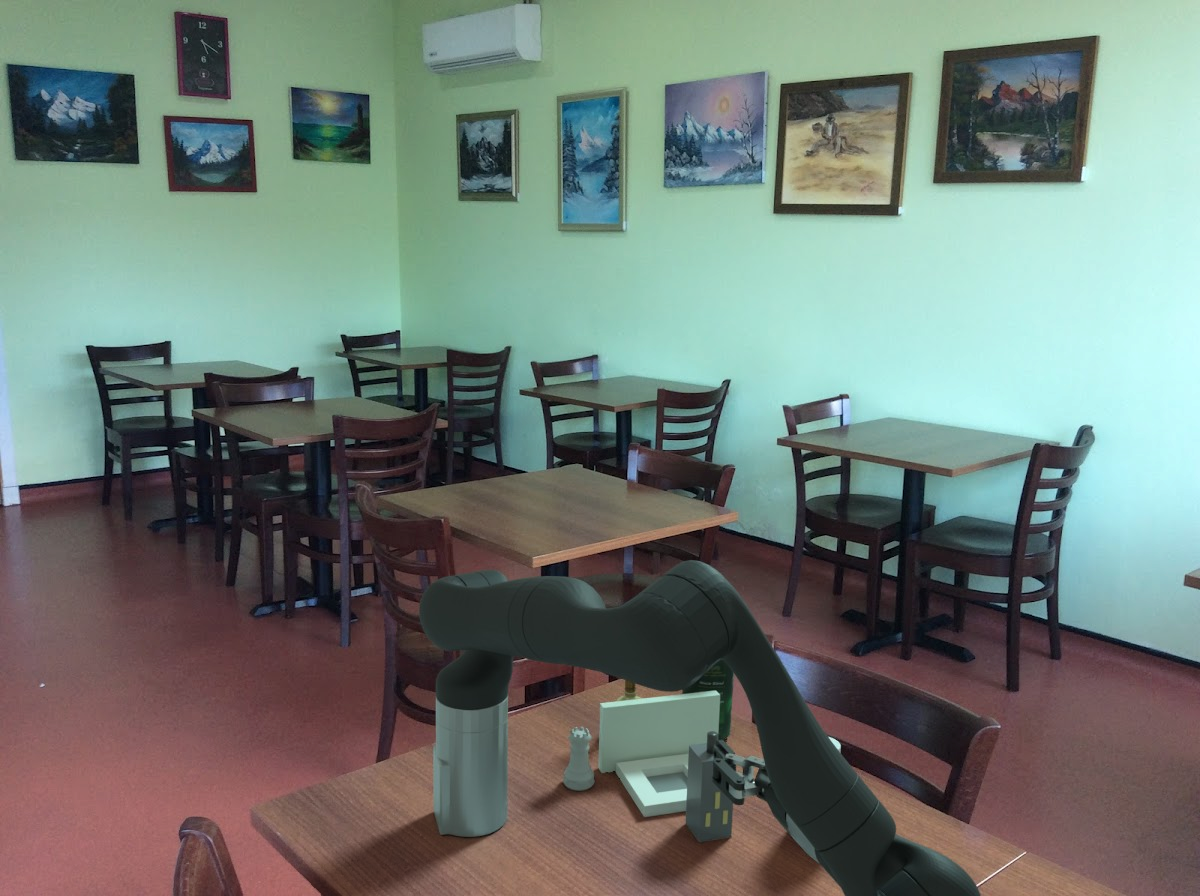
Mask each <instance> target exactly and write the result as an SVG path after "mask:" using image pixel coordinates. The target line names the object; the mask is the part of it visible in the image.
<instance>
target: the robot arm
mask: <svg viewBox="0 0 1200 896" xmlns="http://www.w3.org/2000/svg"><path fill="white" fill-rule="evenodd" d="M418 615H419V616H418V617H419V621H420V625H421V627H422V630H423V632H424V634H425V636H426V637H427V639H428V640H429V641H430V642H431V643H432V644H433V645H434V646H436V647H437V648H438V649H441V650H442V651H446V652H456V651H457V652H458V651H463V653H461V654H460V655H459V656H458V657H457V658H456V659H454V660H453V661H451V662H449V664H447V665H445V666H444V667H443V668H441V670H440V671H439V672H438V674H437V676H436V679H435V744H434V745H433V747H432V748H433V750H432V751H433V753H432V754H433V755H432V757H433V759H432V761H433V762H432V763H433V764H432V765H433V767H432V768H433V771H432V772H433V780H432V781H433V783H432V785H433V814H434V817H435V821H436V824H437V828H438V833H439V834H440V835H441V836H442V835H451V836H456V837H465V838H468V837H469V838H474V837H480V836H482V837H483V836H485V835H489V834H491V833H493V832H496V831H498V830H499V829H501V828H502V827H503V826H504V825H505V823H506V822H507V819H508V804H509V803H508V802H509V801H508V780H509V779H508V777H509V775H508V772H509V771H508V770H509V768H508V767H509V766H508V765H509V764H508V760H509V759H508V757H509V756H508V755H509V749H508V746H509V685H510V682H511V679H512V676H513V671H514V670H513V669H514V657H515V658H522V659H528V660H530V661H535V662H540V663H548V664H553V665H561V666H562V665H565V666H571V667H572V666H573V667H576V668H581V669H586V670H590V671H594V672H600V673H604V674H605V675H609V676H613V677H615V678H619V679H620V680H624V681H625V680H627V681H629V682H632V683H635V684H636V685H639V686H642V687H645V688H648V689H652V690H655V691H660V692H665V693H666V692H667V693H669V692H670V693H673V692H679V691H682V690H683V689H685V688H687V687H689V686H690V685H692V684H693V683H695V682H696V681H697V680H698V679H700V678H701V677H702V676H703V675H704V674H705V673H706V672H707V671H708V670H710V669H711V668H712V667H713V666H714V665H715V664H716V663H717V662H719V661H720V660H721V659H723V660H724V661H725V662H726V664H727V665H728V666H729V667H730V669H731V670H732V671H733V673H734V676H735V677H736V678H737V680H738V682H739V683H740V685H741V687H742V688H743V689H742V690H743V691H744V693H745V695H746V697H747V701H748V703H749V706H750V709H751V712H752V715H753V718H754V722H755V727H756V730H757V734H758V738H759V743H760V749H761V753H762V758H760V757H758V756H754V755H748V756H747V757H744V756H741V755H739V754H738V755H737V754H736V752H735V751H734V750H733V749H732V748H731V747H730V746H729V745H728V744H727V742H726V741H725V739H722V740H717V741H716V745H714V759H713V776H712V782H713V783H714V784H715V785H716V786H717V787H718V788H719V789H720V790H721V791H722V792H723V793H724V794H725V795H726V796H727V797H728V798H729V799H730V800H731V801H732V802H733V805H735V806H743V805H744V804H745V798H748V797H752V796H753V797H754V796H756V797H757V798H758V799H760V800H762V801H764V802H766V804H767V805H768V807H769V809H770V811H771V813H772V816H773V817H774V818H775V820H776V821H777V822H778V823H779V824H780V825H781V826H782V827H783V828H784V830H785V831H786V832H787V833H788V834H789V835H790V837H791V838H792V839H793V840H794V841H795V842H796V843H797V844H798V846H800V847H801V848H802V850H803V851H804V852H805V853H806V854H807V855H808V856H809V857H811V858H812V859H813V860H814V861H815V862H816V863H818V864H819V865H820V866H821V867H822V868H823V870H825V872H826V873H827V874H828V875H829V876H830V877H831V878H832V879H833V880H834V882H835V883H836V884H837V885H838V886H839V887H840V889H841V891H842V893H843V895H844V896H981V892H980V890H979V887H978V886H977V884H976V883H975V881H974V880H973V878H972V877H971V875H970V874H969V873H968V872H967V871H966V870H964V868H963V867H962V866H961V865H960V864H958V863H957V862H955V861H953V860H952V859H951V858H949V857H948V856H946V855H944V854H942V853H940V852H938V851H937V850H934V849H932V848H929V847H927V846H925V845H922V844H919V843H917V842H916V841H915V842H914V841H912V840H910V839H908V838H905V837H903V836H901V835H899V834H897V833H896V832H897V824H896V823H895V820H894V818H893V816H892V815H891V813H890V812H889V811H888V809H887V808H886V807H885V805H883V804H882V802H881V801H880V799H879V798H878V797H877V796H876V795H875V793H874V792H873V791H872V790H871V789H870V787H869V786H868V785H867V784H866V782H865V781H864V780H863V779H862V778H861V776H860V775H859V773H857V772H856V770H855V769H854V768H853V767H852V766H851V764H850V763H849V762H848V761H847V760H846V758H845V757H844V756H843V754H842V753H840V752H841V751H840V752H839V751H838V749H837V748H836V747H835V745H834V744H833V743H832V741H831V740H830V739H829V737H830V736H829V735H828V734H827V733H826V732H825V730H824V729H823V728H822V726H821V725H820V723H819V722H818V720H817V718H816V716H815V715H814V713H813V712H812V711H811V708H810V707H809V706H808V704H807V702H806V701H805V699H804V697H803V696H802V694H801V692H800V690H799V689H798V687H797V685H796V683H795V681H794V680H793V678H792V677H791V675H790V673H789V672H788V670H787V668H786V666H785V665H784V663H783V662H782V660H781V658H780V657H779V655H778V653H777V652H776V650H775V648H774V647H773V645H772V644H771V642H770V641H769V639H768V637H767V636H766V634H765V633H764V631H763V629H762V627H761V626H760V624H759V622H758V620H757V619H756V618H755V616H754V614H753V612H751V610H750V608H749V606H748V605H747V603H746V602H745V600H743V598H742V596H741V594H739V592H738V591H737V590H736V588H735V587H734V586H733V584H731V582H729V581H728V580H727V578H726V577H725V576H724V575H723V574H722V573H721V572H719V570H718V569H716V568H714V567H713V566H711V565H710V564H707V563H705V562H702V561H699V560H692V559H689V560H684V561H681V562H679V563H678V564H676V565H674V566H673V567H672V568H670V569H669V570H668V571H666V572H665V573H663V574H662V575H661V576H659V577H658V578H657V579H655V580H654V581H653V582H652V583H651V584H649V585H648V586H646V588H644V589H643V590H642V591H640V592H639V593H638V594H637V595H636V596H634V597H633V598H631V599H629V600H628V601H626V602H625V603H623V604H621V605H618V606H615V607H609V608H607V607H606V605H605V602H604V601H603V599H602V597H601V595H600V594H599V593H598V592H597V590H596V589H595V588H594V587H593V586H591V585H590V584H589V583H587V582H586V581H583V580H581V579H579V578H575V577H570V576H569V577H568V576H559V575H558V576H556V575H555V576H553V575H550V576H549V575H545V576H544V575H542V576H531V577H522V578H518V579H517V578H516V579H511V580H509V579H508V578H507V576H506V574H503V573H502V572H501V571H499V570H497V569H483V570H477V571H471V572H466V573H459V574H454V575H450V576H449V575H448V576H443V577H442V578H438V579H436V580H434V581H433V582H431V583H430V584H428V586H427V587H426V588H425V589H424V591H423V593H422V596H421V598H420V601H419V607H418ZM737 766H740V767H741V768H742V772H739V771H737ZM754 768H758V769H757V772H756V775H755V777H754V773H755V772H754V770H755V769H754Z"/></svg>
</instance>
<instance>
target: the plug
mask: <svg viewBox="0 0 1200 896" xmlns="http://www.w3.org/2000/svg"><path fill="white" fill-rule="evenodd" d="M717 740H718V733H717V732H714V731H710V732H708V733H707V743H704V744H696V745H689V756H688V778H687V801H686V811H685V826H687V828H688V829H689V831H690V833H692V835H693V836H694V837H695V839H696V841H698V843H702V842H703V843H704V842H709V841H710V842H711V841H715V840H722V839H729V838H732V832H733V831H732V829H733V828H732V827H733V813H734V812H733V811H734V803H733V802H732V801H731V800H730V799H729V798H728V797H727V796H726V795H725V794H724V793H723V792H722V791H721V790H720V789H719V788H718V787H717V786H716V785H715V784H714V783H713V782H712V776H713V759H714V745H716V741H717Z"/></svg>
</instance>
